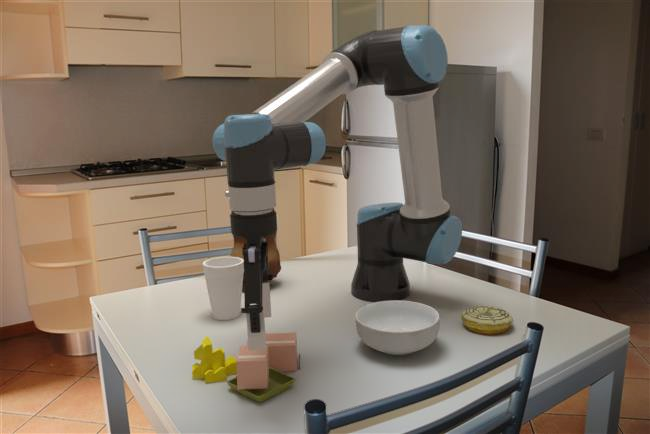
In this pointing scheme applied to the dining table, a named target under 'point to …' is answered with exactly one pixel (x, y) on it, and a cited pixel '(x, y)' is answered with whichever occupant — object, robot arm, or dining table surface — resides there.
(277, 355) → the pink striped box
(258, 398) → the green square tray
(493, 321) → the decorated donut
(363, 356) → the dining table surface
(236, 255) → the butternut squash
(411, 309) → the cereal bowl
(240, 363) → the pink box
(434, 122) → the robot arm
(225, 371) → the yellow faceted figurine
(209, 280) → the foam cup
